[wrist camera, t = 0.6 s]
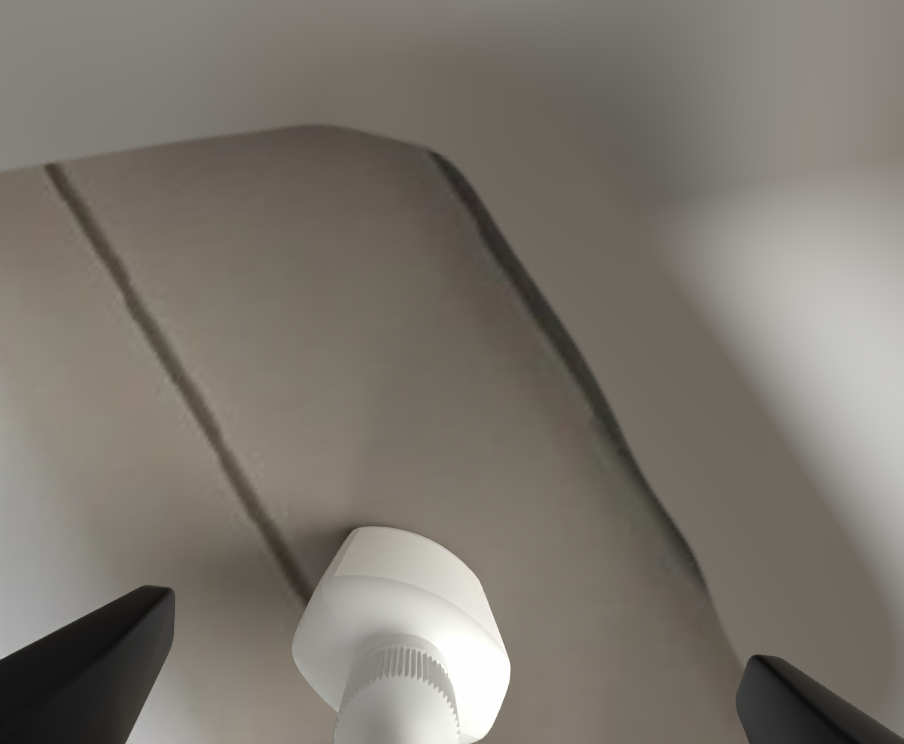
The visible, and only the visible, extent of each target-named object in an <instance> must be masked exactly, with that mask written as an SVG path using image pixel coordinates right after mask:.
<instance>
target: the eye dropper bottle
mask: <svg viewBox="0 0 904 744" xmlns="http://www.w3.org/2000/svg"><path fill="white" fill-rule="evenodd" d="M292 654H293V657H294V660H295V663H296V666H297V667H298V669H299V670H300V672H301V673H302V675H303V676H304V678H305V679H306V680H307V681H308V683H309V684H310V685H311V686H312V688H313V689H314V690H315V691H316V692H317V693H318V694H319V695H320V696H321V697H322V698H323V699H324V700H325V701H326V702H327V703H328V704H329V705H330V706H331V707H332V708H333V709H334V710H336V711H337V712H338V715H337V719H336V723H335V726H334V733H333V737H334V739H333V744H471V743H474V742H476V741H478V740H480V739H482V738H483V737H484V736H485V735H486V734H487V733H488V731H489V730H490V729H491V727H492V725H493V723H494V721H495V719H496V717H497V714H498V712H499V709H500V707H501V704H502V702H503V699H504V697H505V694H506V691H507V688H508V684H509V681H510V662H509V659H508V656H507V653H506V649H505V646H504V644H503V641H502V638H501V636H500V633H499V630H498V628H497V625H496V622H495V620H494V617H493V614H492V612H491V609H490V607H489V604H488V602H487V599H486V596H485V594H484V591H483V589H482V586H481V584H480V581H479V579H478V578H477V577H476V576H475V574H474V573H473V572H472V571H471V570H470V569H469V568H468V567H467V566H466V565H465V564H464V563H463V562H462V561H461V560H460V559H459V558H457V557H456V556H455V555H454V554H453V553H451V552H450V551H448V550H447V549H446V548H444V547H442V546H441V545H439V544H437V543H436V542H434V541H432V540H430V539H428V538H426V537H423V536H421V535H418V534H415V533H412V532H409V531H405V530H401V529H396V528H390V527H380V526H367V527H360V528H357V529H354V530H353V531H352V532H351V533H350V534H349V536H348V537H347V538H346V540H345V541H344V543H343V544H342V546H341V548H340V549H339V551H338V552H337V554H336V556H335V557H334V559H333V560H332V562H331V564H330V565H329V567H328V569H327V570H326V572H325V573H324V575H323V577H322V579H321V580H320V582H319V584H318V586H317V588H316V589H315V591H314V593H313V595H312V597H311V599H310V601H309V603H308V605H307V608H306V610H305V612H304V614H303V616H302V618H301V621H300V623H299V625H298V628H297V630H296V633H295V635H294V639H293V645H292Z"/></svg>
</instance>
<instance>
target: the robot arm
mask: <svg viewBox="0 0 904 744" xmlns="http://www.w3.org/2000/svg"><path fill="white" fill-rule="evenodd" d="M174 617H175V593H174V590H173V589H171V588H170V587H162V586H153V585H144V586H142V587H139V588H137V589H135V590H133V591H132V592H130V593H128V594H126V595H124V596H122V597H120V598H118V599H116V600H114V601H112V602H110V603H108V604H107V605H105V606H103V607H101V608H99V609H97V610H95V611H93V612H91V613H89V614H87V615H85V616H83V617H82V618H80V619H78V620H76V621H74V622H72V623H70V624H68V625H66V626H64V627H62V628H60V629H58V630H57V631H55V632H53V633H51V634H49V635H47V636H45V637H43V638H41V639H39V640H37V641H35V642H33V643H32V644H30V645H28V646H26V647H24V648H22V649H20V650H18V651H16V652H14V653H12V654H10V655H8V656H7V657H5V658H3V659H1V660H0V744H125V743H126V741H127V739H128V737H129V735H130V733H131V731H132V729H133V726H134V724H135V722H136V720H137V718H138V716H139V714H140V712H141V710H142V708H143V706H144V703H145V701H146V699H147V697H148V695H149V693H150V691H151V689H152V687H153V685H154V683H155V681H156V678H157V676H158V674H159V672H160V670H161V668H162V666H163V664H164V662H165V660H166V658H167V655H168V653H169V651H170V648H171V645H172V642H173V637H174ZM736 707H737V712H738V715H739V718H740V720H741V723H742V725H743V728H744V730H745V733H746V735H747V738H748V741H749V743H750V744H904V739H903V738H901V737H900V736H898V735H897V734H895V733H894V732H892V731H891V730H889V729H888V728H886V727H885V726H883V725H882V724H880V723H879V722H877V721H876V720H874V719H873V718H871V717H870V716H868V715H867V714H865V713H864V712H862V711H861V710H859V709H858V708H856V707H855V706H853V705H851V704H850V703H849V702H847V701H845V700H844V699H842V698H841V697H839V696H838V695H836V694H835V693H833V692H832V691H830V690H829V689H827V688H826V687H824V686H822V685H821V684H820V683H818V682H817V681H815V680H814V679H812V678H810V677H809V676H808V675H806V674H804V673H803V672H802V671H800V670H799V669H797V668H796V667H794V666H792V665H791V664H789V663H788V662H786V661H785V660H783V659H782V658H779V657H774V656H766V655H753V656H752V657H751V658H750V659H749V660H748V663H747V665H746V668H745V671H744V674H743V677H742V680H741V683H740V686H739V689H738V691H737V695H736Z"/></svg>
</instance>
